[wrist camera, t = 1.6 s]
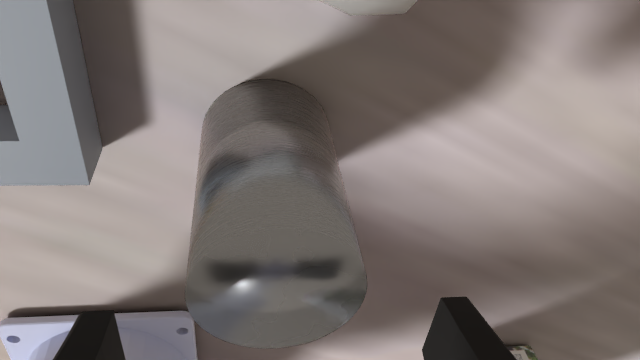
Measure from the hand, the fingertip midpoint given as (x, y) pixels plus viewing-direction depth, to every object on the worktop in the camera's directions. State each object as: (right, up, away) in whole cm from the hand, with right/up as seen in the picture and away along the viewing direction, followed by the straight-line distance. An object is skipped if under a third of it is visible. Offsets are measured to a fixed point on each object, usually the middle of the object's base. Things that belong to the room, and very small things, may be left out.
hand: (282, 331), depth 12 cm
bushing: (-1, +5, +6) cm, 8 cm away
